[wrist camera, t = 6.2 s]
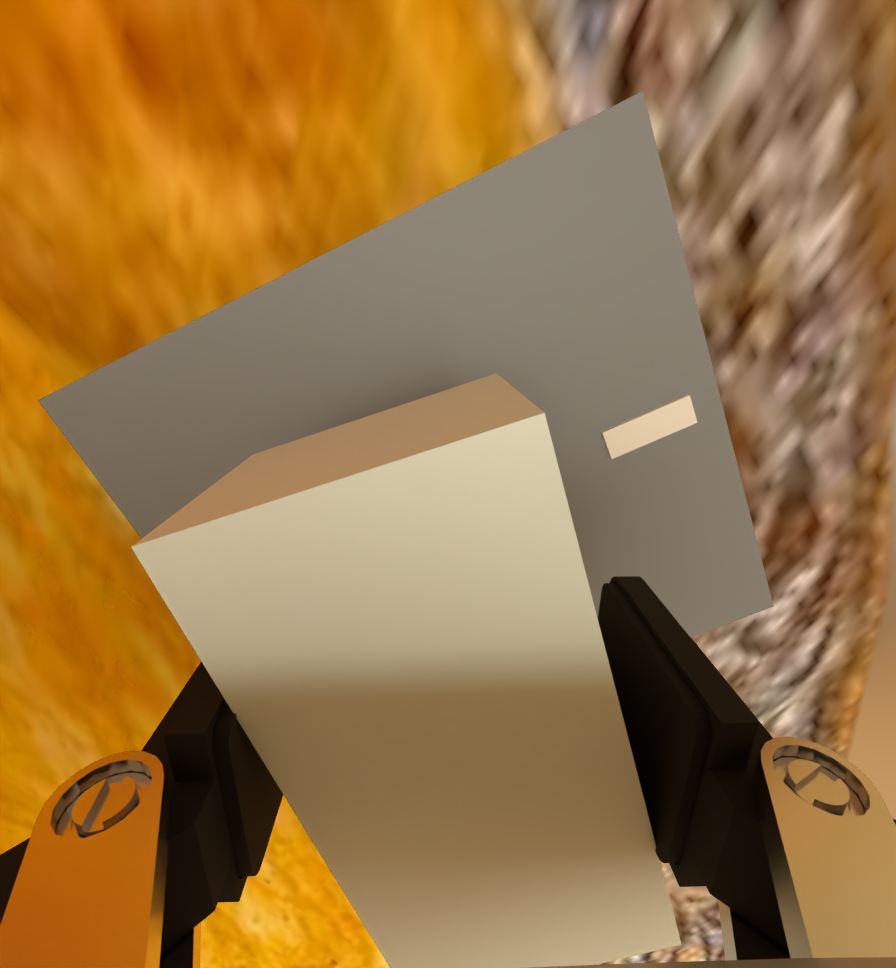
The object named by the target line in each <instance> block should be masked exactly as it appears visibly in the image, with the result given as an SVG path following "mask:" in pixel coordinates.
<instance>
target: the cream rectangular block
mask: <svg viewBox="0 0 896 968" xmlns="http://www.w3.org/2000/svg"><path fill="white" fill-rule="evenodd" d="M131 548H132V550H133V551H134V553H135V555H136V556H137V558H138V559H139V561H140V563H141V564H142V566H143V568H144V569H145V571H146V572H147V574H148V576H149V577H150V579H151V580H152V582H153V584H154V585H155V587H156V589H157V590H158V592H159V593H160V595H161V597H162V598H163V600H164V602H165V603H166V605H167V606H168V608H169V610H170V611H171V613H172V615H173V616H174V618H175V619H176V621H177V623H178V624H179V626H180V628H181V629H182V631H183V632H184V634H185V636H186V637H187V639H188V640H189V642H190V644H191V645H192V647H193V649H194V650H195V652H196V653H197V655H198V657H199V658H200V660H201V662H202V663H203V665H204V666H205V668H206V670H207V671H208V673H209V675H210V676H211V678H212V679H213V681H214V683H215V684H216V686H217V687H218V689H219V691H220V692H221V694H222V696H223V697H224V699H225V700H226V702H227V704H228V705H229V707H230V709H231V710H232V712H233V713H236V718H237V720H238V722H239V723H240V725H241V726H242V728H243V730H244V731H245V733H246V735H247V736H248V738H249V739H250V741H251V743H252V744H253V746H254V747H255V749H256V751H257V752H258V754H259V756H260V757H261V759H262V760H263V762H264V764H265V765H266V767H267V769H268V770H269V772H270V773H271V775H272V777H273V778H274V780H275V782H276V783H277V785H278V786H279V788H280V790H281V791H282V793H283V795H284V796H285V798H286V799H287V801H288V803H289V804H290V806H291V807H292V809H293V811H294V812H295V814H296V816H297V817H298V819H299V820H300V822H301V824H302V825H303V827H304V829H305V830H306V832H307V833H308V835H309V837H310V838H311V840H312V842H313V843H314V845H315V846H316V848H317V850H318V851H319V853H320V855H321V856H322V858H323V859H324V861H325V863H326V864H327V866H328V867H329V869H330V871H331V872H332V874H333V876H334V877H335V879H336V880H337V882H338V884H339V885H340V887H341V889H342V890H343V892H344V893H345V895H346V897H347V898H348V900H349V902H350V903H351V905H352V906H353V908H354V910H355V911H356V913H357V914H358V916H359V918H360V919H361V921H362V923H363V924H364V926H365V927H366V929H367V931H368V932H369V934H370V936H371V937H372V939H373V940H374V942H375V944H376V945H377V947H378V949H379V950H380V952H381V953H382V955H383V957H384V958H385V960H386V962H387V963H388V965H389V966H390V968H528V967H554V966H580V965H597V964H601V963H605V962H610V961H614V960H618V959H622V958H626V957H631V956H635V955H639V954H643V953H648V952H652V951H656V950H660V949H665V948H669V947H673V946H677V945H681V941H680V937H679V933H678V929H677V926H676V922H675V918H674V914H673V910H672V906H671V902H670V898H669V894H668V891H667V887H666V883H665V879H664V875H663V871H662V867H661V863H660V859H659V858H658V856H657V854H656V852H655V850H656V844H655V840H654V836H653V832H652V828H651V824H650V821H649V817H648V813H647V809H646V805H645V801H644V797H643V793H642V789H641V786H640V782H639V778H638V774H637V770H636V766H635V762H634V758H633V754H632V751H631V747H630V743H629V739H628V735H627V731H626V727H625V723H624V719H623V716H622V712H621V708H620V704H619V700H618V696H617V692H616V688H615V684H614V681H613V677H612V673H611V669H610V665H609V661H608V657H607V653H606V649H605V646H604V642H603V638H602V634H601V630H600V626H599V622H598V618H597V614H596V611H595V607H594V603H593V599H592V595H591V591H590V587H589V583H588V579H587V576H586V572H585V568H584V564H583V560H582V556H581V552H580V548H579V544H578V541H577V537H576V533H575V529H574V525H573V521H572V517H571V513H570V509H569V506H568V502H567V498H566V494H565V490H564V486H563V482H562V478H561V474H560V471H559V467H558V463H557V459H556V455H555V451H554V447H553V443H552V439H551V436H550V432H549V428H548V424H547V420H546V416H545V413H544V412H543V411H542V410H541V409H539V408H538V407H537V406H536V405H535V404H533V403H532V402H531V401H530V400H528V399H527V398H526V397H525V396H524V395H522V394H521V393H520V392H519V391H518V390H516V389H515V388H514V387H513V386H511V385H510V384H509V383H508V382H507V381H505V380H504V379H503V378H502V377H500V376H499V375H498V374H497V373H496V374H493V375H490V376H487V377H484V378H481V379H478V380H475V381H472V382H469V383H466V384H463V385H460V386H457V387H454V388H451V389H448V390H445V391H442V392H439V393H436V394H433V395H430V396H427V397H424V398H421V399H418V400H415V401H412V402H409V403H406V404H403V405H400V406H397V407H394V408H391V409H388V410H385V411H382V412H379V413H376V414H373V415H370V416H367V417H364V418H361V419H358V420H355V421H352V422H349V423H346V424H343V425H340V426H337V427H334V428H331V429H328V430H325V431H322V432H319V433H316V434H313V435H310V436H307V437H304V438H301V439H298V440H295V441H292V442H289V443H286V444H283V445H280V446H277V447H274V448H271V449H268V450H265V451H262V452H259V453H256V454H253V455H251V456H250V457H249V458H248V459H246V460H245V461H244V462H242V463H241V464H240V465H238V466H237V467H236V468H234V469H233V470H232V471H230V472H229V473H228V474H226V475H225V476H224V477H222V478H221V479H220V480H218V481H217V482H216V483H215V484H213V485H212V486H211V487H209V488H208V489H207V490H205V491H204V492H203V493H201V494H200V495H199V496H197V497H196V498H195V499H193V500H192V501H191V502H189V503H188V504H187V505H186V506H184V507H183V508H182V509H180V510H179V511H178V512H176V513H175V514H174V515H172V516H171V517H170V518H168V519H167V520H166V521H164V522H163V523H162V524H160V525H159V526H158V527H156V528H155V529H154V530H153V531H151V532H150V533H149V534H147V535H146V536H145V537H143V538H142V539H141V540H139V541H138V542H137V543H135V544H134V545H133V546H131Z"/></svg>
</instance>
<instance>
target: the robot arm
mask: <svg viewBox="0 0 896 968" xmlns="http://www.w3.org/2000/svg"><path fill="white" fill-rule="evenodd" d="M598 622H599V626H600V630H601V634H602V638H603V642H604V646H605V649H606V653H607V657H608V661H609V665H610V669H611V673H612V677H613V681H614V684H615V688H616V692H617V696H618V700H619V704H620V708H621V712H622V716H623V719H624V723H625V727H626V731H627V735H628V739H629V743H630V747H631V751H632V754H633V758H634V762H635V766H636V770H637V774H638V778H639V782H640V786H641V789H642V793H643V797H644V801H645V805H646V809H647V813H648V817H649V821H650V824H651V828H652V832H653V836H654V840H655V844H656V850H655V852H656V854H657V856H658V858H659V859H660V860H661V862H663V863H670V866H671V868H672V870H673V873H674V875H675V877H676V880H677V882H678V884H679V886H680V887H689V886H706V887H707V889H708V891H709V893H710V894H711V895H713V896H714V897H715V898H717V899H718V900H719V901H718V904H719V912H720V920H721V928H722V936H723V944H724V951H725V959H726V961H697V962H666V963H635V964H607V965H580V966H554V967H528V968H896V820H894V819H893V818H892V816H891V814H890V812H889V810H888V808H887V806H886V804H885V802H884V800H883V798H882V797H881V795H880V793H879V792H878V790H877V789H876V787H875V786H874V785H873V783H872V781H871V780H869V778H867V777H866V776H865V775H864V774H863V773H862V772H861V771H860V770H859V769H858V768H857V767H856V766H854V765H853V764H852V763H850V762H849V761H848V760H846V759H845V758H843V757H842V756H841V755H839V754H837V753H835V752H833V751H831V750H829V749H828V748H826V747H824V746H822V745H819V744H816V743H813V742H810V741H808V740H805V739H799V738H793V737H777V738H772V737H771V735H770V734H769V733H768V732H767V730H766V729H765V728H764V727H763V725H762V724H761V723H760V722H759V721H758V719H757V718H756V717H755V716H754V714H753V713H752V712H751V711H750V710H749V708H748V707H747V706H746V705H745V703H744V702H743V701H742V700H741V698H740V697H739V696H738V695H737V694H736V692H735V691H734V690H733V689H732V687H731V686H730V685H729V684H728V682H727V681H726V680H725V679H724V678H723V676H722V675H721V674H720V673H719V671H718V670H717V669H716V668H715V667H714V665H713V664H712V663H711V662H710V660H709V659H708V658H707V657H706V655H705V654H704V653H703V652H702V651H701V649H700V648H699V647H698V646H697V644H696V643H695V642H694V641H693V640H692V639H691V637H690V636H689V635H688V634H687V633H686V631H685V630H684V629H683V628H682V626H681V625H680V624H679V623H678V621H677V620H676V619H675V618H674V617H673V615H672V614H671V613H670V612H669V610H668V609H667V608H666V607H665V605H664V604H663V603H662V602H661V601H660V599H659V598H658V597H657V596H656V594H655V593H654V592H653V591H652V590H651V588H650V587H649V586H648V585H647V583H646V582H645V581H644V580H643V579H642V578H641V577H639V576H614V577H612V578H611V580H610V583H605V584H603V586H602V591H601V598H600V606H599V613H598ZM282 797H283V793H282V791H281V790H280V788H279V786H278V785H277V783H276V782H275V780H274V778H273V777H272V775H271V773H270V772H269V770H268V769H267V767H266V765H265V764H264V762H263V760H262V759H261V757H260V756H259V754H258V752H257V751H256V749H255V747H254V746H253V744H252V743H251V741H250V739H249V738H248V736H247V735H246V733H245V731H244V730H243V728H242V726H241V725H240V723H239V722H238V720H237V718H236V713H233V712H232V710H231V709H230V707H229V705H228V704H227V702H226V700H225V699H224V697H223V696H222V694H221V692H220V691H219V689H218V687H217V686H216V684H215V683H214V681H213V679H212V678H211V676H210V675H209V673H208V671H207V670H206V668H205V666H204V665H203V663H202V662H201V663H200V664H199V666H198V667H197V669H196V670H195V672H194V673H193V675H192V676H191V678H190V679H189V681H188V682H187V684H186V685H185V687H184V688H183V690H182V691H181V693H180V694H179V696H178V697H177V699H176V700H175V702H174V703H173V705H172V706H171V708H170V709H169V711H168V712H167V714H166V715H165V717H164V718H163V720H162V721H161V723H160V724H159V726H158V727H157V729H156V730H155V732H154V733H153V735H152V736H151V738H150V739H149V741H148V742H147V744H146V745H145V747H144V748H143V750H142V751H127V752H122V753H117V754H113V755H110V756H108V757H105V758H103V759H100V760H98V761H95V762H93V763H92V764H90V765H88V766H86V767H85V768H83V769H81V770H80V771H78V772H76V773H75V774H74V775H73V776H71V777H70V778H69V779H68V780H66V781H65V782H64V783H63V784H62V785H60V786H59V787H58V788H57V790H56V791H55V792H54V793H53V794H52V795H51V796H50V798H49V799H48V800H47V801H46V802H45V804H44V806H43V808H42V810H41V812H40V814H39V816H38V818H37V820H36V823H35V826H34V829H33V832H32V835H31V837H30V838H29V839H27V840H25V841H24V842H22V843H20V844H19V845H17V846H15V847H13V848H12V849H10V850H8V851H6V852H5V853H3V854H1V855H0V968H200V938H201V921H203V920H204V919H205V918H206V917H207V916H208V915H210V914H211V913H212V912H213V911H214V910H215V908H216V905H217V903H218V902H239V900H240V897H241V894H242V891H243V888H244V885H245V882H246V879H247V876H256V875H257V873H258V872H259V870H260V867H261V864H262V861H263V858H264V855H265V851H266V848H267V845H268V842H269V838H270V835H271V832H272V829H273V826H274V822H275V819H276V816H277V813H278V809H279V806H280V803H281V800H282Z"/></svg>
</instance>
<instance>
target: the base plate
mask: <svg viewBox="0 0 896 968" xmlns="http://www.w3.org/2000/svg"><path fill="white" fill-rule="evenodd" d="M496 373H497V374H498V375H499V376H500V377H502V378H503V379H504V380H505V381H507V382H508V383H509V384H510V385H511V386H513V387H514V388H515V389H516V390H518V391H519V392H520V393H521V394H522V395H524V396H525V397H526V398H527V399H528V400H530V401H531V402H532V403H533V404H535V405H536V406H537V407H538V408H539V409H541V410H542V411H543V412H544V413H545V416H546V420H547V424H548V428H549V432H550V436H551V439H552V443H553V447H554V451H555V455H556V459H557V463H558V467H559V471H560V474H561V478H562V482H563V486H564V490H565V494H566V498H567V502H568V506H569V509H570V513H571V517H572V521H573V525H574V529H575V533H576V537H577V541H578V544H579V548H580V552H581V556H582V560H583V564H584V568H585V572H586V576H587V579H588V583H589V587H590V591H591V595H592V599H593V603H594V607H595V611H596V614H597V618H598V613H599V606H600V598H601V591H602V586H603V584H605V583H610V580H611V578H612V577H614V576H639V577H641V578H642V579H643V580H644V581H645V582H646V583H647V585H648V586H649V587H650V588H651V590H652V591H653V592H654V593H655V594H656V596H657V597H658V598H659V599H660V601H661V602H662V603H663V604H664V605H665V607H666V608H667V609H668V610H669V612H670V613H671V614H672V615H673V617H674V618H675V619H676V620H677V621H678V623H679V624H680V625H681V626H682V628H683V629H684V630H685V631H686V633H687V634H688V635H689V636H690V637H694V636H696V635H699V634H702V633H704V632H707V631H710V630H712V629H715V628H718V627H720V626H723V625H726V624H728V623H731V622H733V621H736V620H739V619H741V618H744V617H747V616H749V615H752V614H755V613H757V612H760V611H763V610H765V609H768V608H770V607H773V603H772V599H771V595H770V591H769V587H768V583H767V579H766V576H765V572H764V568H763V564H762V560H761V556H760V552H759V548H758V544H757V540H756V536H755V532H754V528H753V524H752V520H751V516H750V512H749V509H748V505H747V501H746V497H745V493H744V489H743V485H742V481H741V477H740V473H739V469H738V465H737V461H736V457H735V453H734V449H733V445H732V442H731V438H730V434H729V430H728V426H727V422H726V418H725V414H724V410H723V406H722V402H721V398H720V394H719V390H718V386H717V382H716V378H715V375H714V371H713V367H712V363H711V359H710V355H709V351H708V347H707V343H706V339H705V335H704V331H703V327H702V323H701V319H700V315H699V311H698V308H697V304H696V300H695V296H694V292H693V288H692V284H691V280H690V276H689V272H688V268H687V264H686V260H685V256H684V252H683V248H682V244H681V241H680V237H679V233H678V229H677V225H676V221H675V217H674V213H673V209H672V205H671V201H670V197H669V193H668V189H667V185H666V181H665V177H664V174H663V170H662V166H661V162H660V158H659V154H658V150H657V146H656V142H655V138H654V134H653V130H652V126H651V122H650V118H649V114H648V110H647V107H646V103H645V99H644V95H643V91H642V92H640V93H638V94H636V95H634V96H632V97H630V98H628V99H626V100H624V101H622V102H621V103H619V104H617V105H615V106H613V107H611V108H609V109H607V110H605V111H603V112H601V113H599V114H597V115H595V116H593V117H591V118H589V119H587V120H585V121H583V122H581V123H579V124H578V125H576V126H574V127H572V128H570V129H568V130H566V131H564V132H562V133H560V134H558V135H556V136H554V137H552V138H550V139H548V140H546V141H544V142H542V143H540V144H538V145H536V146H534V147H533V148H531V149H529V150H527V151H525V152H523V153H521V154H519V155H517V156H515V157H513V158H511V159H509V160H507V161H505V162H503V163H501V164H499V165H497V166H495V167H493V168H491V169H489V170H488V171H486V172H484V173H482V174H480V175H478V176H476V177H474V178H472V179H470V180H468V181H466V182H464V183H462V184H460V185H458V186H456V187H454V188H452V189H450V190H448V191H446V192H444V193H443V194H441V195H439V196H437V197H435V198H433V199H431V200H429V201H427V202H425V203H423V204H421V205H419V206H417V207H415V208H413V209H411V210H409V211H407V212H405V213H403V214H401V215H400V216H398V217H396V218H394V219H392V220H390V221H388V222H386V223H384V224H382V225H380V226H378V227H376V228H374V229H372V230H370V231H368V232H366V233H364V234H362V235H360V236H358V237H356V238H355V239H353V240H351V241H349V242H347V243H345V244H343V245H341V246H339V247H337V248H335V249H333V250H331V251H329V252H327V253H325V254H323V255H321V256H319V257H317V258H315V259H313V260H311V261H310V262H308V263H306V264H304V265H302V266H300V267H298V268H296V269H294V270H292V271H290V272H288V273H286V274H284V275H282V276H280V277H278V278H276V279H274V280H272V281H270V282H268V283H266V284H265V285H263V286H261V287H259V288H257V289H255V290H253V291H251V292H249V293H247V294H245V295H243V296H241V297H239V298H237V299H235V300H233V301H231V302H229V303H227V304H225V305H223V306H222V307H220V308H218V309H216V310H214V311H212V312H210V313H208V314H206V315H204V316H202V317H200V318H198V319H196V320H194V321H192V322H190V323H188V324H186V325H184V326H182V327H180V328H178V329H177V330H175V331H173V332H171V333H169V334H167V335H165V336H163V337H161V338H159V339H157V340H155V341H153V342H151V343H149V344H147V345H145V346H143V347H141V348H139V349H137V350H135V351H133V352H132V353H130V354H128V355H126V356H124V357H122V358H120V359H118V360H116V361H114V362H112V363H110V364H108V365H106V366H104V367H102V368H100V369H98V370H96V371H94V372H92V373H90V374H88V375H87V376H85V377H83V378H81V379H79V380H77V381H75V382H73V383H71V384H69V385H67V386H65V387H63V388H61V389H59V390H57V391H55V392H53V393H51V394H49V395H47V396H45V397H44V398H42V399H40V400H38V401H39V402H40V404H41V405H42V406H43V408H44V409H45V410H46V412H47V413H48V414H49V416H50V417H51V418H52V420H53V421H54V422H55V424H56V425H57V426H58V428H59V429H60V430H61V432H62V433H63V434H64V436H65V437H66V438H67V440H68V441H69V442H70V444H71V445H72V446H73V448H74V449H75V450H76V452H77V453H78V454H79V456H80V457H81V458H82V460H83V461H84V462H85V464H86V465H87V466H88V468H89V469H90V470H91V472H92V473H93V474H94V476H95V477H96V478H97V480H98V481H99V482H100V484H101V485H102V486H103V488H104V489H105V490H106V492H107V493H108V494H109V496H110V497H111V498H112V500H113V501H114V502H115V504H116V505H117V506H118V508H119V509H120V510H121V512H122V513H123V514H124V516H125V517H126V518H127V520H128V521H129V522H130V524H131V525H132V526H133V528H134V529H135V530H136V532H137V533H138V534H139V536H140V537H141V538H143V537H145V536H146V535H147V534H149V533H150V532H151V531H153V530H154V529H155V528H156V527H158V526H159V525H160V524H162V523H163V522H164V521H166V520H167V519H168V518H170V517H171V516H172V515H174V514H175V513H176V512H178V511H179V510H180V509H182V508H183V507H184V506H186V505H187V504H188V503H189V502H191V501H192V500H193V499H195V498H196V497H197V496H199V495H200V494H201V493H203V492H204V491H205V490H207V489H208V488H209V487H211V486H212V485H213V484H215V483H216V482H217V481H218V480H220V479H221V478H222V477H224V476H225V475H226V474H228V473H229V472H230V471H232V470H233V469H234V468H236V467H237V466H238V465H240V464H241V463H242V462H244V461H245V460H246V459H248V458H249V457H250V456H251V455H253V454H256V453H259V452H262V451H265V450H268V449H271V448H274V447H277V446H280V445H283V444H286V443H289V442H292V441H295V440H298V439H301V438H304V437H307V436H310V435H313V434H316V433H319V432H322V431H325V430H328V429H331V428H334V427H337V426H340V425H343V424H346V423H349V422H352V421H355V420H358V419H361V418H364V417H367V416H370V415H373V414H376V413H379V412H382V411H385V410H388V409H391V408H394V407H397V406H400V405H403V404H406V403H409V402H412V401H415V400H418V399H421V398H424V397H427V396H430V395H433V394H436V393H439V392H442V391H445V390H448V389H451V388H454V387H457V386H460V385H463V384H466V383H469V382H472V381H475V380H478V379H481V378H484V377H487V376H490V375H493V374H496Z"/></svg>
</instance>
